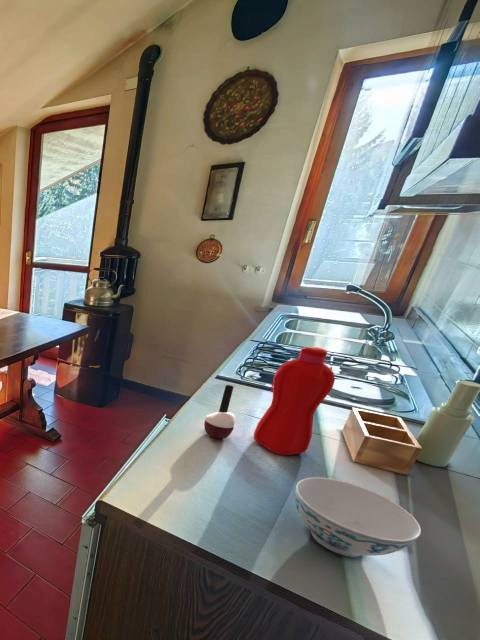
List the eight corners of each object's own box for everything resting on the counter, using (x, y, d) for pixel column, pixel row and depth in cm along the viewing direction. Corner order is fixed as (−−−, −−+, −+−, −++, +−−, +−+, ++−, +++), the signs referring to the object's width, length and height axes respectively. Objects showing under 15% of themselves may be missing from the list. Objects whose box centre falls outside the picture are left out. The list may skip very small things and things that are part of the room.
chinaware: (426, 575, 60) (451, 537, 57) (337, 581, 59) (357, 543, 56) (335, 508, 74) (351, 475, 71) (261, 512, 73) (274, 479, 70)
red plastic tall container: (270, 431, 101) (305, 338, 91) (312, 455, 91) (355, 353, 81) (239, 434, 99) (271, 340, 89) (278, 458, 89) (318, 356, 79)
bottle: (441, 457, 90) (485, 382, 83) (450, 469, 86) (498, 391, 78) (405, 449, 93) (444, 376, 86) (412, 460, 89) (454, 384, 81)
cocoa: (219, 445, 94) (233, 401, 89) (194, 434, 99) (205, 391, 94) (239, 435, 99) (253, 392, 94) (214, 424, 104) (226, 383, 99)
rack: (388, 441, 96) (401, 417, 94) (407, 475, 84) (422, 448, 81) (341, 431, 101) (352, 407, 98) (353, 461, 88) (365, 435, 86)
